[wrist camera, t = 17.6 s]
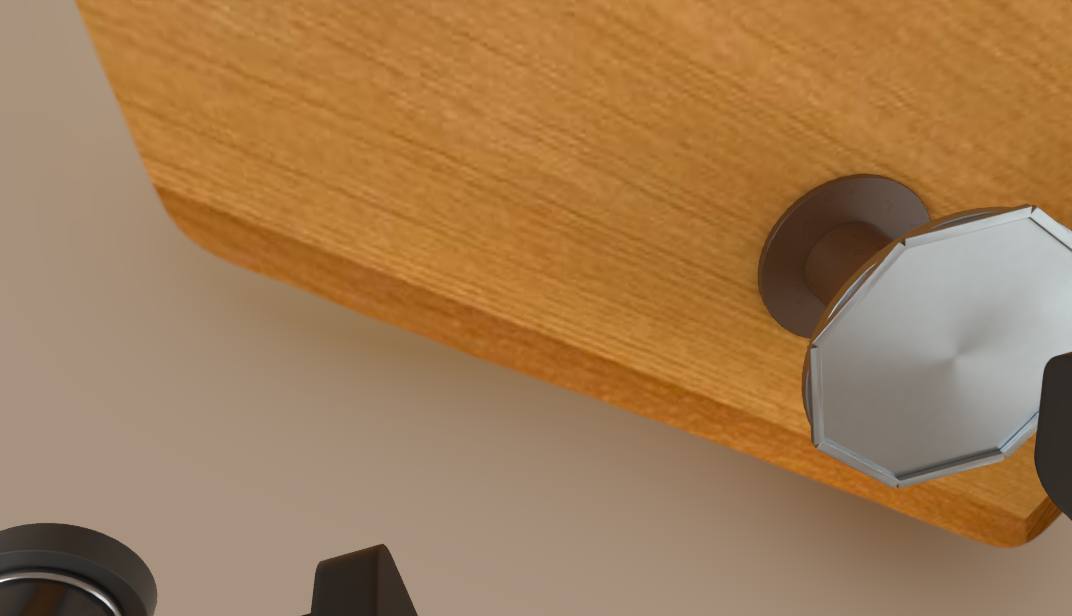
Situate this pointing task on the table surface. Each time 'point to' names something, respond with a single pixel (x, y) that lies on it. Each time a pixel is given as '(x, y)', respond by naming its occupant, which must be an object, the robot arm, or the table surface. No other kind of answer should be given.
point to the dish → (918, 324)
